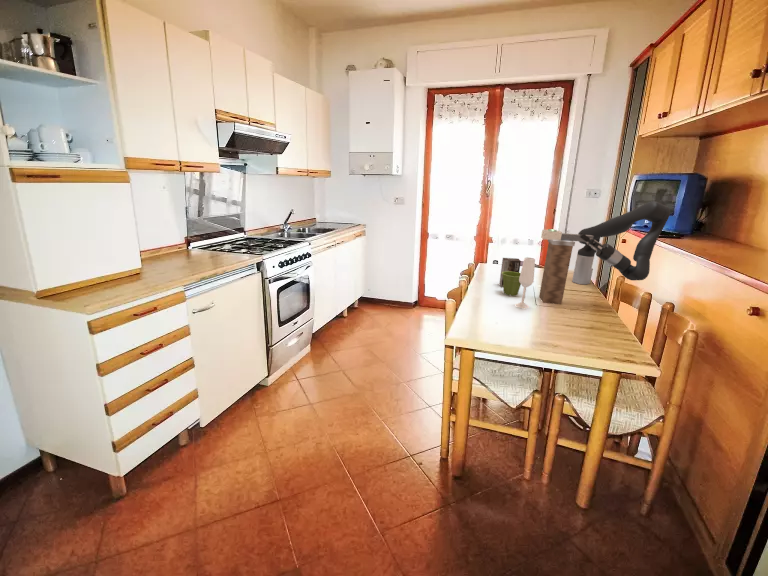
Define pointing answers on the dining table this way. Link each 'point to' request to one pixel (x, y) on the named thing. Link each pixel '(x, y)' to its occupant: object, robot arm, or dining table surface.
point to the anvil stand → (555, 271)
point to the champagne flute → (526, 278)
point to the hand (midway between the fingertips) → (580, 235)
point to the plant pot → (511, 283)
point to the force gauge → (562, 236)
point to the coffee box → (509, 267)
